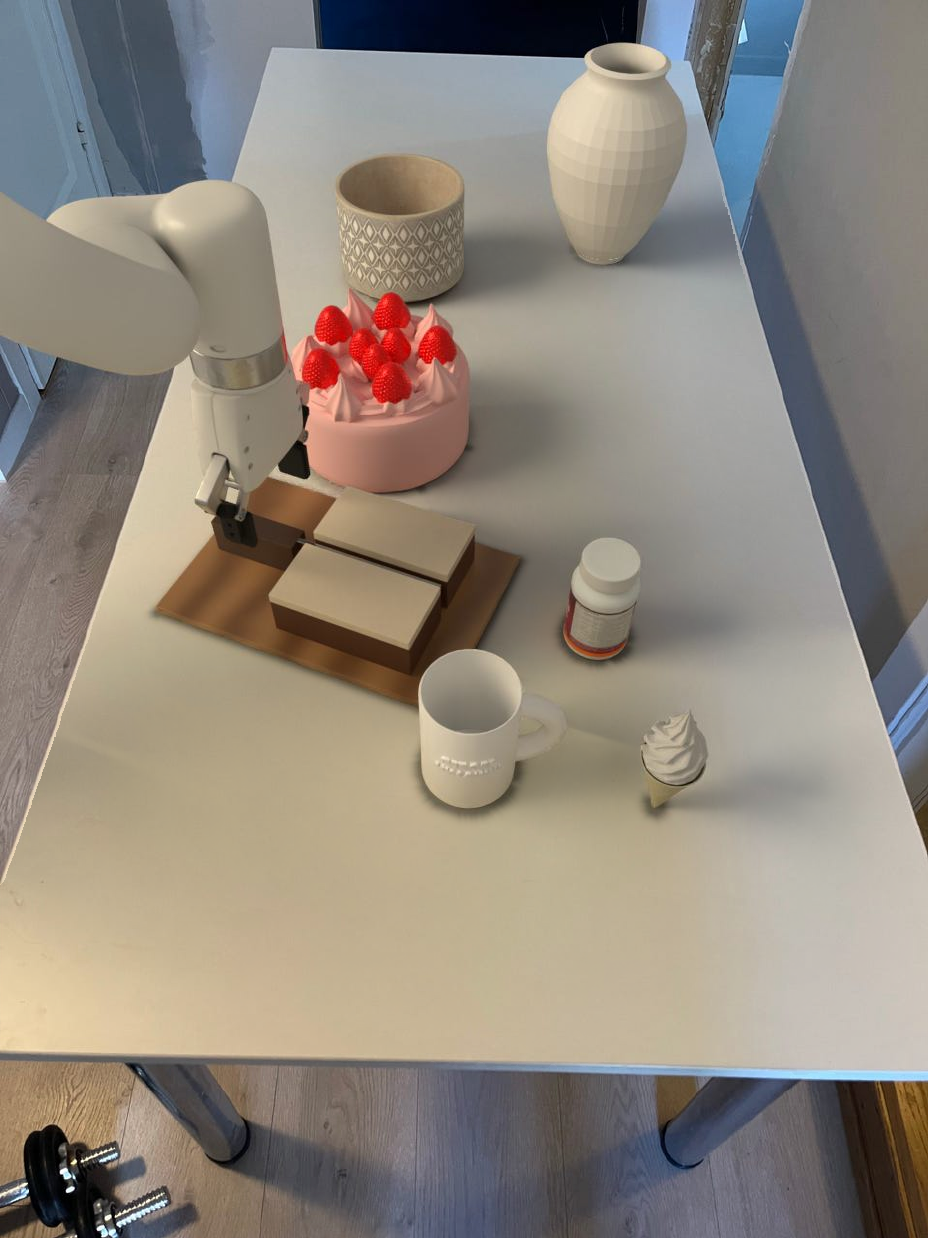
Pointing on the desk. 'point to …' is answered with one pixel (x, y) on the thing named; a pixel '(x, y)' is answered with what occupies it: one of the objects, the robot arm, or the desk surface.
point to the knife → (280, 545)
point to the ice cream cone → (673, 757)
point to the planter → (401, 225)
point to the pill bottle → (602, 598)
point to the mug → (478, 727)
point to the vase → (615, 149)
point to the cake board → (240, 610)
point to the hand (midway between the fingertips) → (269, 506)
